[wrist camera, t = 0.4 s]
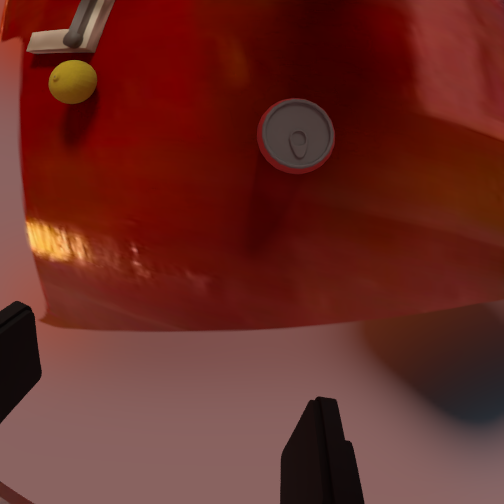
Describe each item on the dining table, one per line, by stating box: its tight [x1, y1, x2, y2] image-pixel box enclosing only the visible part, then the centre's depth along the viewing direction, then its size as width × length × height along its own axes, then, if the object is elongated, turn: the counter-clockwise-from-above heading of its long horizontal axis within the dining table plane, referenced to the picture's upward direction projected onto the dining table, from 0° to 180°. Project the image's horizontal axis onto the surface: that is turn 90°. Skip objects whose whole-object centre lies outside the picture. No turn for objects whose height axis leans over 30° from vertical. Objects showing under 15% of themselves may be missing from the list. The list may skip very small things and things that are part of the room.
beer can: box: [257, 98, 335, 174], centre depth 29 cm, size 7×7×12 cm
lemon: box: [49, 60, 97, 104], centre depth 30 cm, size 6×6×8 cm
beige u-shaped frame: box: [27, 0, 115, 54], centre depth 28 cm, size 15×12×4 cm
